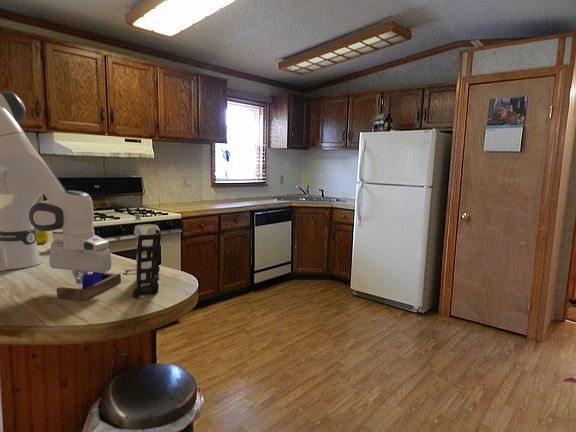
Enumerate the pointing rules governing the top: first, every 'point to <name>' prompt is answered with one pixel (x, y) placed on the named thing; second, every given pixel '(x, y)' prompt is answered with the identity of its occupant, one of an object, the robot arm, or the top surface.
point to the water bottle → (145, 243)
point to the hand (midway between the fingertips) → (80, 283)
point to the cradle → (89, 288)
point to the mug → (41, 236)
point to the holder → (149, 271)
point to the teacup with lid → (57, 235)
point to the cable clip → (91, 279)
